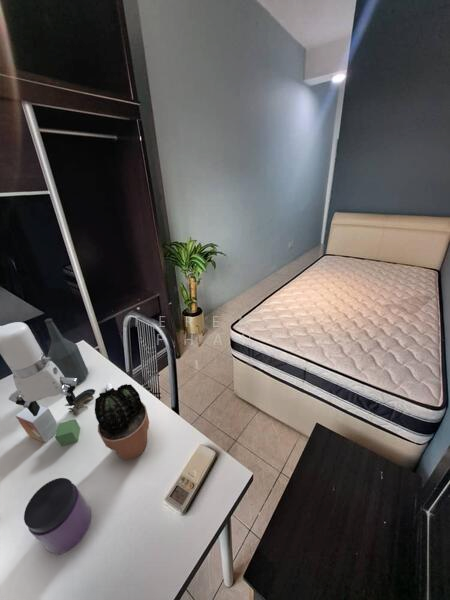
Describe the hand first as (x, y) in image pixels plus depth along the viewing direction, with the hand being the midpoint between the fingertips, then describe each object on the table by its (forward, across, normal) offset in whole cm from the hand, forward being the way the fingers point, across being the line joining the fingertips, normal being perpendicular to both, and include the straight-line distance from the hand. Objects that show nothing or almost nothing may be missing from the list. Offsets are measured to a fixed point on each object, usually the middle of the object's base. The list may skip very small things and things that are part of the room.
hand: (55, 407), depth 75 cm
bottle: (+15, +5, -29) cm, 33 cm away
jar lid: (+3, -5, +26) cm, 27 cm away
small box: (+15, +10, -5) cm, 18 cm away
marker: (+15, -12, -12) cm, 23 cm away
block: (+15, +1, 0) cm, 15 cm away
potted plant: (+15, -19, +10) cm, 27 cm away
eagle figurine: (+15, -1, -12) cm, 19 cm away
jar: (+15, -4, +26) cm, 30 cm away
